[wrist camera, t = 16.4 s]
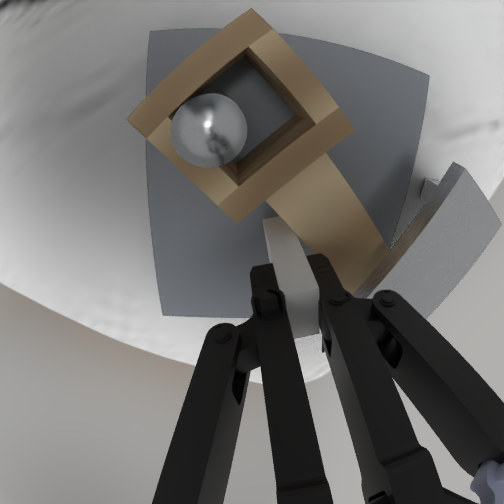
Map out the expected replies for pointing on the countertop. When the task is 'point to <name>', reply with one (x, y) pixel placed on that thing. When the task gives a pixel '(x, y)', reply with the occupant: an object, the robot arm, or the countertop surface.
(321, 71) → the base plate
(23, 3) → the countertop surface
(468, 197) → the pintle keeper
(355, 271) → the link
